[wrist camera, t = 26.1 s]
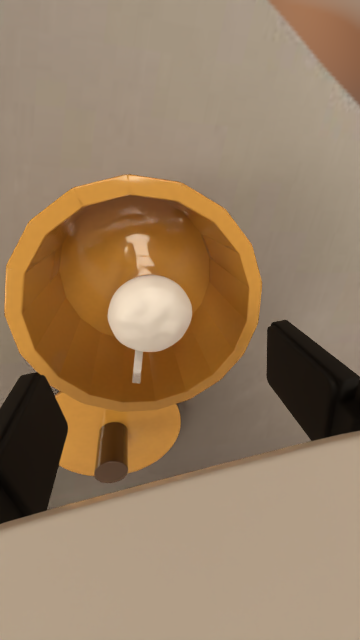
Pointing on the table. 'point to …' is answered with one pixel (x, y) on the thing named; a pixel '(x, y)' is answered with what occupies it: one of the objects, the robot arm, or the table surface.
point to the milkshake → (148, 310)
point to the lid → (115, 438)
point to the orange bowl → (103, 278)
